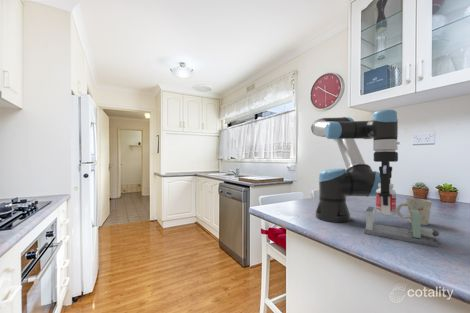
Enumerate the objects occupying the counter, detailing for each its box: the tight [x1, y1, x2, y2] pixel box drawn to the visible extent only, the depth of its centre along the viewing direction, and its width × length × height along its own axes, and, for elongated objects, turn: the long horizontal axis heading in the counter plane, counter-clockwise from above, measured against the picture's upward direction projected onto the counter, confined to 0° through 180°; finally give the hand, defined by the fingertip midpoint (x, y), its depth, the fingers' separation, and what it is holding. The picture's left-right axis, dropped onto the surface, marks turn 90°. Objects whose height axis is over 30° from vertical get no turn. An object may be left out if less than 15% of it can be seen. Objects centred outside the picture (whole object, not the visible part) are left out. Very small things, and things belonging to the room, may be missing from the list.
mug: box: [396, 197, 432, 226], centre depth 92 cm, size 8×13×10 cm, turn 78°
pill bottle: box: [375, 183, 397, 216], centre depth 80 cm, size 6×6×11 cm
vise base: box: [364, 206, 438, 248], centre depth 78 cm, size 20×10×8 cm, turn 52°
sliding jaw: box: [411, 210, 440, 238], centre depth 73 cm, size 7×9×8 cm
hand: (386, 212), depth 80 cm, fingers closed on pill bottle, 6 cm apart
